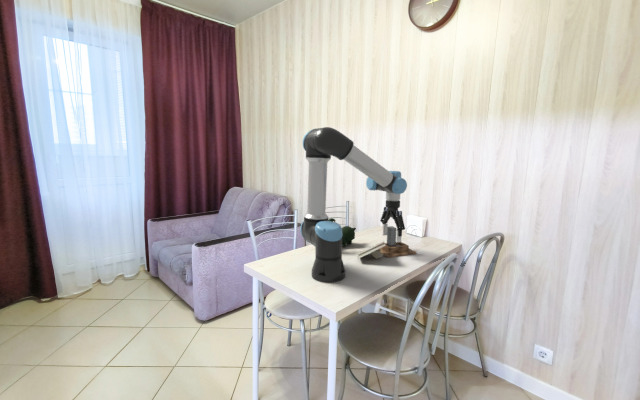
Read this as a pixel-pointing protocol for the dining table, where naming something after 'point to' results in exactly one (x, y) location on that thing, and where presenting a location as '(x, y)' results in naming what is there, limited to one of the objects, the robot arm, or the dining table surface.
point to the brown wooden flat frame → (396, 250)
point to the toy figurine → (346, 234)
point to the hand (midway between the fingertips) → (391, 238)
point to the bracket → (391, 236)
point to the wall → (373, 251)
